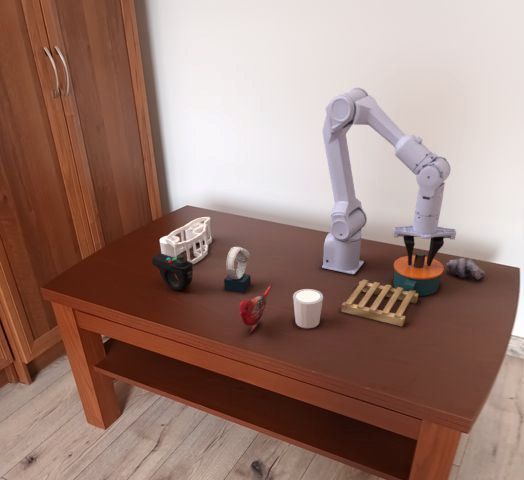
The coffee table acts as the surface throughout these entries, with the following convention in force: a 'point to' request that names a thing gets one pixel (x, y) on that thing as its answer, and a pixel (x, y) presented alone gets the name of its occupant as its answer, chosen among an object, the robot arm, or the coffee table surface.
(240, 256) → the watch
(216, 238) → the coffee table surface
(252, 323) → the decorative bird figurine
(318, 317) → the white cup
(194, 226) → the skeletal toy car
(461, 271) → the seashell
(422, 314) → the coffee table surface
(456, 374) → the coffee table surface
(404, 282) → the pot
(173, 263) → the controller
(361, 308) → the rack
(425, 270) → the lid
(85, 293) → the coffee table surface
